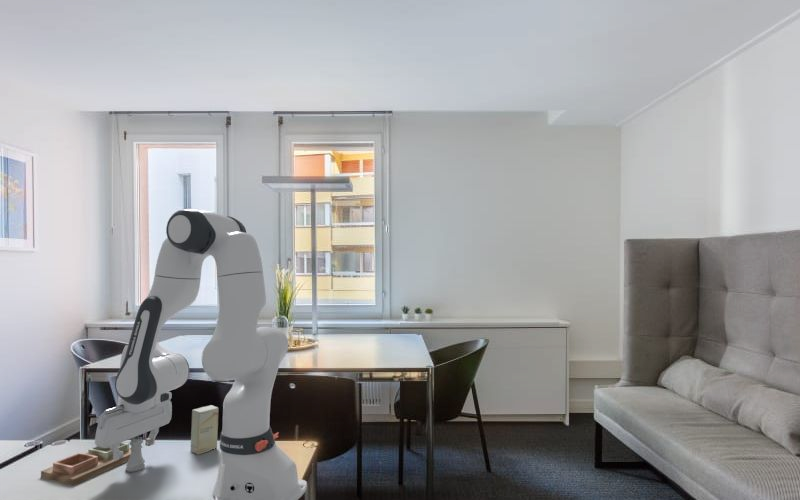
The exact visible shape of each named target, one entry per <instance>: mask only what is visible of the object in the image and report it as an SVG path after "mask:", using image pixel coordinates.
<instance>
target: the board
mask: <svg viewBox="0 0 800 500" xmlns="http://www.w3.org/2000/svg"><path fill="white" fill-rule="evenodd" d="M129 443H130V442H125V441H124V442H121V443H120V447H118V449H119V451H123V458H121V459H119V460H114V459H113V452H112V451H111V449H110V448H101V447H98V446H97V445H95V446H94V447H91V448H88V452H86V453H84V452H78V453H76V454H73V455H71V456H68V457H65V458H63V459H62V458H61V459H60V460H57V461H54V462H53V463H52V466H51V467H48V468H46V469H43V470H40V478H43V479H47V480H51V481H53V482H54V481H55V482H58V483H63V484H67V485H70V486H75V485H78V484H80V483H82V482H84V481H87V480H89V479H90V478H93V477H95V476H97V475H100V474H102V473H104V472H107V471H109V470H111V469H113V468H115V467H118V466H119V465H121V464H124V463H127V462H128V460H129V459H130V454H131V450H130V444H129Z"/></svg>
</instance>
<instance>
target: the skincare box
mask: <svg viewBox="0 0 800 500" xmlns="http://www.w3.org/2000/svg"><path fill="white" fill-rule="evenodd" d="M218 429H219V407H218V406H215V405H212V404H210V405H206V406H201V407H198V408H194V409H192V411H191V430H190V431H191V432H190V452H192V453H194V454H195V455H201V454H203V453H207V452H210V450H211V451H213V450H212V449H214V450H216V449H218V431H219V430H218ZM215 448H216V449H215Z"/></svg>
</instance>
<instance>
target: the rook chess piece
mask: <svg viewBox="0 0 800 500" xmlns="http://www.w3.org/2000/svg"><path fill="white" fill-rule="evenodd" d="M128 443H129V446H130V447H129V449H130V450H131V454H130V459H129V460H128V461H126V467H125V470H126V471H127V472H128V473H135V472H139V471H141V470H143V469H144V468H145V466H146V464H145V462H146V460H145V459H144V457H143V454H142V448H143V446H142V444H143V443H144V440H143V437H142V436H136V437H134V438H131V439H130V441H129V442H128Z"/></svg>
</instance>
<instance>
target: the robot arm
mask: <svg viewBox="0 0 800 500" xmlns="http://www.w3.org/2000/svg"><path fill="white" fill-rule="evenodd" d="M166 223H167V224H166V232H165V233H166V236H167V237H166V238H165V239H164V241H163V242H162V244H161V247H160V249H159V253H158V257H157V260H156V265H155V269H154V270H155V271H154V277H153V281H152V285H151V288H150V290H149V293H148V294H147V296H146V298H145V299H144V300H143V301H142V302H141V303H140V305H139V308H138V309H137V310H138V311H137V313H136V317H135V319H134V323H133V327H132V331H131V334H130V337H129V342H128V343H127V344H125V346H124V348H123V349H122V353H121V357H120V365H119V370H118V372H117V375H116V377H115V380H114V381H115V382H114V388H115V391H116V394H117V395H118V396H117V397H118V398H117V406H114V407H112V408H108V409H105V410H104V412H102V413H101V414H100V416H98V421H97V427H96V432H95V437H94V445H95V446H98V447H101V448H110V449H111V451H112V452H113V459H114V460H119V459H121V458H123V451H119V449H118V447H120V443H121V442H124V443H125V442H126V441H128V440H131V439H132V438H133V439H134V437H136V438H137V437H140V436H141V435H143V434H146V433H147V432H148V433H149V435H148V437H146V438H145V446H147V447H151V446H154V445H155V443H156V442H155V441H156V440H155V439H156V437H157V435H158V434H159V432H160V430H159V429H160V427H164V426H166V425H168V424H169V423H170V422H171V420H172V415H173V413H172V412H173V405H172V401H171V399H172V395H173V394H172V392H170V391H172V390H176V389H178V388H180V387H182V386H184V385H185V384H186V382H187V381H188V378H189V376H190V366H189V365H190V364H189V362H188V360H187V359H186V358H185V357H184V356H183V355H182V354H179V353H174V352H172V351H169V350H167V349H165V348H163V347H162V346H161V345H160V344H159V343H158V339H159V335H160V332H161V330H162V328H163V326H164V325H165V324H166V323H167V322H168V321H169V320H171V318H173V317H174V316H175V315H177V314H178V313H180V312H182V311H184V310H185V309H187V308H189V307H190V306H191V305H192V304H193V303H194V302H195V301H196V299H197V297H198V294H199V291H200V286H201V278H202V268H203V263H204V261H205V259H206V258H207V257H210V256H212V258H213V259H214V261H215V264H216V279H217V290H218V303H219V304H218V305H219V307H218V315H217V321H216V325H215V329H214V332H213V334H212V336H211V338H210V340H209V342H207V343H206V345H205V346H204V348H203V350H202V353H201V365H202V369H203V371H204V372H205V374H206V375H207V376H208V378H210V379H212V380H213V381H234V382H233V384H232V386H231V388H230V390H229V391H228V392H227V394H226V395H225V397H224V399H223V403H222V407H223V408H222V429H221V431H220V434H219V435H220V437H219V449H220V450H221V452H220V460H219V467H218V471H217V472H218V473H217V477H216V481H215V485H214V487H213V490H212V495H213V497H214V500H299V499H300V498H301V497H302V496H303V495H304V494H305V493H306V491H307V488H308V484H307V482H308V481H306V480H305V479H302V478H300V477H299V476H298V468H297V465H296V462H295V461H294V460H293V459H292V458H291V457H290V456H288V454H286V453H285V452H284V451H283V450H282V449H281V447H279V446H278V445H277V444H276V440H275V439H277V438H278V437H279V433H280V432H278V431H277V432H276V433H273V431H272V428H271V425H270V421H271V420H270V414H271V399H272V393H273V388H274V384H275V380H276V378H277V374H278V372H279V367H280V365H281V363H282V362H283V359H284V358H285V357H286V355H287V353H288V351H289V339H288V337H287V335H286V334H285V333H284V331H283V330H281V329H279V328H277V327H274V326H273V327H272V326H265V325H263V326H258V321H259V318H260V313H261V311H263V309H264V307H265V305H266V302H267V297H266V287H265V279H264V268H263V262H262V257H261V253H260V250H259V247H258V243H257V241H256V239H255V237H254V236H253V235H252V234H249V233H247V230H246V227H245V225H244V224H243V223H242V222H241V221H239V220H238V219H236V218H234V217H232V216H227V215H224V214H220V213H216V212H215V211H210V210H198V209H194V208H190V209H189V208H188V209H187V208H186V209H181V210H177V211H176V212H174V213H173V214H172V215H171V216H170V217H169V218H168V221H167V222H166Z"/></svg>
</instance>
